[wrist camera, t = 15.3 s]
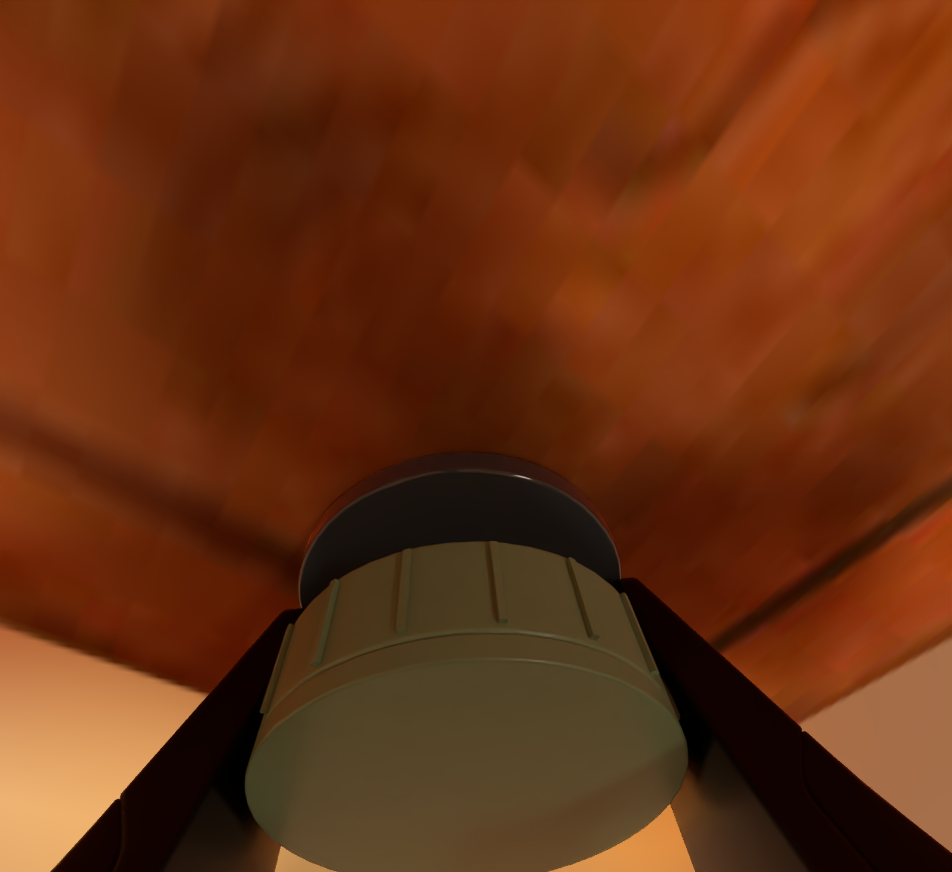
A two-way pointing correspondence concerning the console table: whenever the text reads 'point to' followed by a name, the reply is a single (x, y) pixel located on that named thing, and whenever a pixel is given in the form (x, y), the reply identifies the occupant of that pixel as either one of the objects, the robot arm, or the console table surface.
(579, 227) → the console table surface
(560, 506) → the coaster
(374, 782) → the lid
